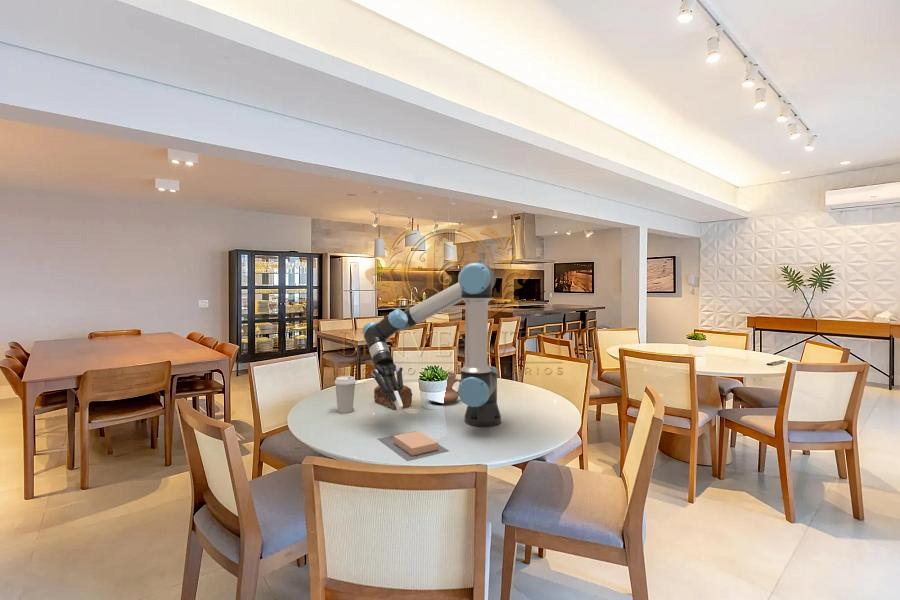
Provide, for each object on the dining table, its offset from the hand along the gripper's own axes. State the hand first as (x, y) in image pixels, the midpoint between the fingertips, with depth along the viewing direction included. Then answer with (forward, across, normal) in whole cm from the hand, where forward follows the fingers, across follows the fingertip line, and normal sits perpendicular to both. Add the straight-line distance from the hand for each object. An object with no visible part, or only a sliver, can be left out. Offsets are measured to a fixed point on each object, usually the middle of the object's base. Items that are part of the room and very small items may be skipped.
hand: (400, 407), depth 158 cm
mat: (+14, 0, -1) cm, 14 cm away
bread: (-22, -18, -39) cm, 49 cm away
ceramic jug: (-15, -41, -32) cm, 54 cm away
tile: (+10, 0, -3) cm, 10 cm away
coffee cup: (-23, +4, -40) cm, 46 cm away
